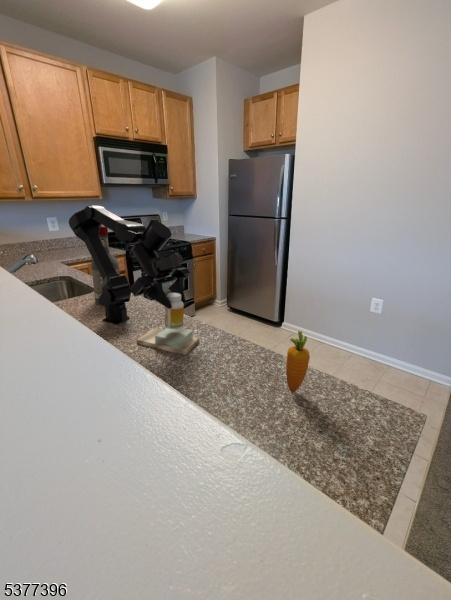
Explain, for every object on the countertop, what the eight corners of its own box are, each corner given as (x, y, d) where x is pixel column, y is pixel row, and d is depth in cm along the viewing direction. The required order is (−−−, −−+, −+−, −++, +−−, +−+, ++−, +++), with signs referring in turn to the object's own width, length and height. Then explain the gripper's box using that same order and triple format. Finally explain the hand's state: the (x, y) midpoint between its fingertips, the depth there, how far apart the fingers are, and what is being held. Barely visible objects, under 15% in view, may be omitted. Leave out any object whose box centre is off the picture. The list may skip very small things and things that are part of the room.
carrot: (299, 402, 60) (310, 341, 56) (278, 393, 63) (286, 334, 58) (306, 390, 64) (316, 332, 60) (285, 382, 67) (294, 326, 62)
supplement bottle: (186, 324, 82) (187, 293, 79) (176, 331, 77) (177, 299, 74) (171, 320, 84) (171, 290, 81) (161, 327, 79) (160, 295, 76)
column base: (137, 343, 81) (136, 332, 80) (154, 331, 89) (154, 321, 88) (185, 355, 76) (185, 343, 75) (199, 341, 85) (199, 331, 83)
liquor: (98, 298, 116) (91, 225, 106) (121, 298, 118) (116, 226, 108) (94, 306, 107) (86, 227, 98) (119, 305, 110) (113, 228, 100)
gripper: (136, 246, 67) (169, 299, 66) (186, 241, 82) (214, 283, 80) (117, 271, 74) (147, 320, 72) (167, 262, 89) (192, 302, 87)
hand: (177, 305), depth 78 cm, fingers closed on supplement bottle, 5 cm apart
